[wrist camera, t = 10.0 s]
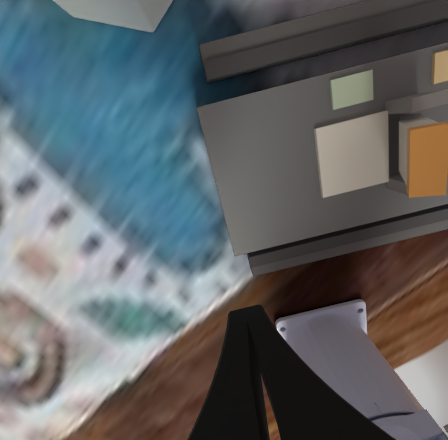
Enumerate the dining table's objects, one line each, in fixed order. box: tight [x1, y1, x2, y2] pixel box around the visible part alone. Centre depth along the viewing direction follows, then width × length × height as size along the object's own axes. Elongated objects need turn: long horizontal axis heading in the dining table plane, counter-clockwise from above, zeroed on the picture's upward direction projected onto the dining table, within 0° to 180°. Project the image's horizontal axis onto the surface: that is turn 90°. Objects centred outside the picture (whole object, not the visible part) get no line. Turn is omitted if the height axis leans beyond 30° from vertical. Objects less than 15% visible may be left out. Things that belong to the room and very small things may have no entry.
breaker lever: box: [399, 113, 448, 198], centre depth 14 cm, size 3×1×5 cm, turn 13°
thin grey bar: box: [247, 204, 448, 276], centre depth 20 cm, size 2×22×2 cm, turn 104°
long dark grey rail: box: [199, 0, 448, 84], centre depth 15 cm, size 2×22×2 cm, turn 103°
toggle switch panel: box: [197, 42, 448, 256], centre depth 16 cm, size 10×28×4 cm, turn 103°
